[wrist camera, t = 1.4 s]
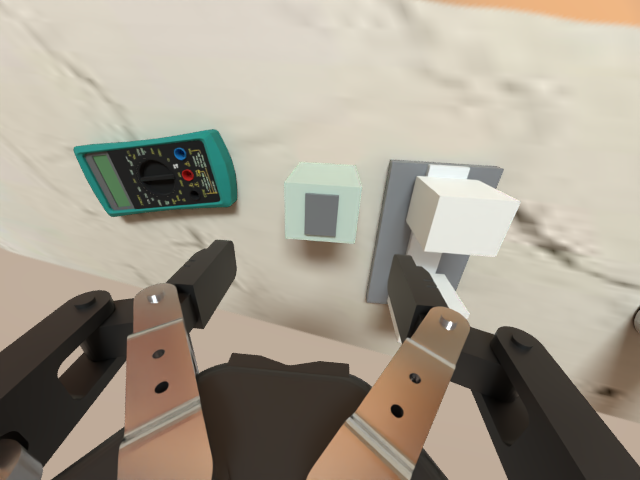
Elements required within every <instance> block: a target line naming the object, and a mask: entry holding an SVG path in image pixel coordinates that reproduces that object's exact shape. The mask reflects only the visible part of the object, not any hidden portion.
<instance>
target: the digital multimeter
mask: <svg viewBox="0 0 640 480" xmlns="http://www.w3.org/2000/svg"><path fill="white" fill-rule="evenodd" d="M178 142H179V143H178ZM74 153H75V155H76V158H77V160H78V162H79V164H80V167H81V169H82V171H83V173H84V175H85V177H86V179H87V181H88V183H89V185H90V186H91V188H92V190H93V192H94V193H95V195H96V197H97V198H98V200H99V201H100V203H101V204H102V206H103V208H104V209H105V211H106V212H107V213H108V215H110V216H111V217H117V216H124V215H131V214H138V213H145V212H155V211H165V210H175V209H193V208H216V207H229V206H231V205H232V204H233V203H234V202H235V201H236V200H237V183H236V175H235V170H234V166H233V163H232V159H231V157H230V155H229V152H228V150H227V148H226V146H225V144H224V142H223V140H222V138H221V136H220V134H219V132H218V131H217V130H214V129H212V130H205V131H200V132H194V133H189V134H183V135H177V136H171V137H164V138H158V139H149V140H140V141H131V142H118V143H104V144H90V145H83V146H76V147H74ZM137 167H138V168H137ZM138 178H139V179H138ZM173 192H174V193H173ZM167 196H168V197H167Z"/></svg>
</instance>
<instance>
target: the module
mask: <svg viewBox="0 0 640 480" xmlns="http://www.w3.org/2000/svg"><path fill="white" fill-rule="evenodd" d="M361 192H362V186H361V182H360V179H359V175H358V172H357V168H356V165H344V164H329V163H314V162H300V163H299V164H298V165H297V167H296V168H295V169H294V170H293V172H292V173H291V174H290V176H289V177H288V178H287V179H286V181H285V182H284V197H285V238H286V239H299V240H312V241H325V242H337V243H350V244H355V237H356V230H357V222H358V214H359V207H360V199H361Z"/></svg>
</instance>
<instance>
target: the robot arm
mask: <svg viewBox="0 0 640 480" xmlns="http://www.w3.org/2000/svg"><path fill="white" fill-rule="evenodd" d="M236 271H237V267H236V259H235V251H234V244H233V242H232V241H227V240H215V241H214V242H213V243H212V244H211V245H210V246H209V247H208V248H207V249H203V250H201V251H199V252H197V253H195V254H194V255H193V256H192V257H191V258H190V259H189V261H187V262H186V263H185V264H184V265H183V266H182V267H181V268H180V269H179V270H178V271H177V272H176V273H175V274H174V275H173V276H172V277H171V278H170V279H169V280H168V281H167V282H166V283H160V284H155V285H152V286H149V287H147V288H145V289H143V290H142V291H140V292H139V293H138V294H137V295H136V296H135V298H132V299H125V300H117V301H113V299H112V297H111V295H110V293H109V292H107V291H102V290H98V291H91V292H87V293H84V294H81V295H78V296H76V297H74V298H72V299H71V300H69V301H67V302H66V303H65V304H63V305H62V306H61V307H59V308H58V309H57V310H55V311H54V312H53V313H51V314H50V315H49V316H47V317H46V318H45V319H43V320H42V321H41V322H39V323H38V324H37V325H36V326H34V327H33V328H32V329H30V330H29V331H28V332H26V333H25V334H24V335H22V336H21V337H20V338H18V339H17V340H16V341H14V342H13V343H12V344H11V345H9V346H8V347H6V348H5V349H4V350H3V351H1V352H0V480H41V477H42V472H43V467H44V466H45V464H46V463H47V462H48V460H49V459H50V458H51V457H52V455H53V454H54V453H55V451H56V450H57V449H58V448H59V446H60V445H61V444H62V442H63V441H64V440H65V438H66V437H67V436H68V435H69V433H70V432H71V431H72V430H73V428H74V427H75V426H76V424H77V423H78V422H79V421H80V419H81V418H82V417H83V415H84V414H85V413H86V412H87V410H88V409H89V407H90V406H91V405H92V404H93V403H94V401H95V400H96V399H97V397H98V396H99V395H100V393H101V392H102V391H103V389H104V388H105V387H106V386H107V384H108V383H109V382H110V381H111V379H112V378H113V377H114V375H115V374H116V373H117V371H118V370H119V369H120V368H121V366H122V365H123V364H124V362H125V361H126V397H125V427H123V428H122V429H121V430H119V431H118V432H116V433H115V434H114V435H112V436H111V437H109V438H108V439H107V440H105V441H104V442H103V443H101V444H100V445H99V446H97V447H96V448H94V449H93V450H91V451H90V452H89V453H87V454H86V455H85V456H84V457H82V458H80V459H79V460H78V461H76V462H75V463H74V464H72V465H71V466H69V467H68V468H67V469H65V470H64V471H63V472H61V473H60V474H58V475H57V476H56V477H54V478H53V479H52V480H448V478H447V477H446V476H445V475H444V474H443V472H442V471H441V470H440V468H439V467H438V466H437V465H436V463H435V462H434V461H433V460H432V459H431V457H430V456H429V455H428V454H427V452H426V451H425V450H424V449H423V445H424V443H425V440H426V438H427V436H428V433H429V431H430V428H431V426H432V423H433V421H434V418H435V416H436V414H437V411H438V409H439V406H440V404H441V402H442V399H443V396H444V394H445V392H446V389H447V387H448V384H449V382H450V381H451V382H453V383H456V384H459V385H461V386H464V387H466V388H469V389H471V391H472V394H473V396H474V398H475V401H476V403H477V405H478V408H479V410H480V413H481V415H482V418H483V420H484V422H485V425H486V427H487V430H488V432H489V434H490V437H491V439H492V442H493V444H494V447H495V449H496V452H497V454H498V456H499V459H500V461H501V463H502V466H503V468H504V471H505V473H506V475H507V478H508V480H640V467H639V465H638V464H637V463H636V462H635V460H634V459H633V458H632V457H631V455H630V454H629V453H628V452H627V450H626V449H625V448H624V447H623V445H622V444H621V443H620V442H619V440H618V439H617V438H616V437H615V435H614V434H613V433H612V432H611V430H610V429H609V428H608V426H607V425H606V424H605V423H604V421H603V420H602V419H601V418H600V417H599V415H598V414H597V413H596V411H595V410H594V409H593V408H592V406H591V405H590V404H589V403H588V401H587V400H586V399H585V398H584V396H583V395H582V394H581V393H580V391H579V390H578V389H577V388H576V386H575V385H574V384H573V383H572V381H571V380H570V379H569V378H568V376H567V375H566V374H565V373H564V371H563V370H562V369H561V368H560V366H559V365H558V364H557V363H556V361H555V360H554V359H553V358H552V356H551V355H550V354H549V353H548V351H547V350H546V349H545V348H544V346H543V345H542V344H541V343H540V342H539V341H538V340H537V339H536V338H534V337H533V336H531V335H530V334H528V333H526V332H524V331H522V330H520V329H517V328H514V327H508V326H504V327H500V328H498V330H497V331H496V333H495V335H494V334H491V333H488V332H484V331H481V330H478V329H475V328H472V327H470V325H469V322H468V321H467V320H466V318H465V317H464V316H463V315H461V314H460V313H458V312H457V311H455V310H453V309H450V308H449V307H448V305H447V303H446V302H445V300H444V298H443V296H442V294H441V293H440V291H439V289H438V288H437V285H436V284H435V282H434V280H433V278H432V277H431V275H430V273H429V272H428V271H427V270H425V269H424V268H423V267H422V266H416V264H415V262H414V260H413V258H412V256H411V255H401V254H395V255H394V257H393V260H392V265H391V269H390V273H389V278H388V285H387V287H388V294H389V298H390V302H391V305H392V309H393V313H394V316H395V320H396V324H397V327H398V331H399V335H400V338H401V342H402V345H401V347H400V348H399V350H398V351H397V352H396V354H395V355H394V357H393V358H392V360H391V361H390V363H389V364H388V365H387V367H386V368H385V370H384V371H383V373H382V374H381V376H380V377H379V378H378V380H377V381H376V383H375V384H374V386H373V387H372V386H370V385H369V384H368V383H366V382H365V381H363V380H362V379H360V378H358V377H356V376H354V375H351V374H349V364H344V363H333V362H323V361H318V362H311V363H304V364H298V365H285V364H282V363H280V362H277V361H274V360H271V359H268V358H266V357H263V356H258V355H248V354H238V353H232V355H231V357H230V360H229V362H228V363H224V364H220V365H216V366H214V367H211V368H208V369H206V370H204V371H202V372H200V373H199V371H198V367H197V363H196V359H195V355H194V350H193V346H192V342H191V338H190V334H189V333H190V331H191V330H192V329H193V328H199V329H204V328H205V326H206V324H207V323H208V321H209V319H210V318H211V316H212V315H213V313H214V311H215V310H216V308H217V306H218V305H219V303H220V302H221V300H222V298H223V297H224V295H225V293H226V292H227V290H228V289H229V287H230V285H231V284H232V282H233V280H234V279H235V276H236ZM634 326H635V328H636V330H637V331H638V332H639V333H640V310H639V311H638V313H637V314H636V317H635V319H634ZM79 345H80V346H81V348H82V349H83V351H84V353H83V354H82V355H81V356H80V357H79V358H78V359H77V360H76V361H75V362H74V363H73V364H72V365H71V366H70V367H69V368H68V369H67V370H66V372H64V373H63V374H62V375H61V377H59V378H58V377H57V373H58V369H59V367H60V365H61V364H62V362H63V361H64V360H65V359H66V358H67V357H68V356H69V355H70V354H71V353H72V352H73V351H74V350H75V349H76V348H77V347H78V346H79Z"/></svg>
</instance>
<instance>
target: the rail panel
mask: <svg viewBox="0 0 640 480" xmlns="http://www.w3.org/2000/svg"><path fill="white" fill-rule="evenodd" d="M503 170H504V169H502V168H500V167H497V166H482V165H467V164H451V163H436V162H420V161H404V160H390V164H389V170H388V175H387V181H386V186H385V192H384V198H383V203H382V209H381V214H380V220H379V226H378V231H377V237H376V242H375V248H374V254H373V259H372V265H371V271H370V276H369V282H368V287H367V293H366V300H367V302H369V303H381V304H388V306H389V310H390V314H391V318H392V322H393V326H394V330H395V334H396V338H397V342H398V343H402V342H401V338H400V335H399V331H398V327H397V324H396V320H395V316H394V313H393V309H392V305H391V302H390V298H389V294H388V287H387V285H388V278H389V273H390V269H391V265H392V260H393V257H394V255H395V254H401V255H411V256H412V258H413V260H414V262H415V264H416V266H422V267H423V268H424V269H425V270H427V271H428V272H429V273H430V275H431V277H432V278H433V280H434V282H435V284H436V285H437V288H438V289H439V291H440V293H441V294H442V296H443V298H444V300H445V302H446V303H447V305H448V307H449V308H450V309H453V310H455V311H457V312H458V313H460V314H461V315H463V316H464V317H465V318H466V320H467V319H468V317H469V315H470V314H469V312H468V310H467V309H466V307H465V306H464V304H463V303H462V301H461V299H460V298H459V296H458V295H457V293H456V292H455V291H456V289H457V286H458V284H459V281H460V279H461V276H462V274H463V271H464V269H465V266H466V264H467V261H468V259H469V256H470V255H478V256H490V257H496V255H497V253H498V251H499V249H500V247H501V244H502V242H503V240H504V238H505V236H506V233H507V231H508V229H509V227H510V225H511V222H512V220H513V218H514V216H515V214H516V211H517V209H518V207H519V205H520V203H521V201H519V200H517V199H515V198H513V197H511V196H509V195H507V194H505V193H503V192H501V191H499V190H497V189H496V188H497V185H498V183H499V180H500V178H501V175H502V173H503Z"/></svg>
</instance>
